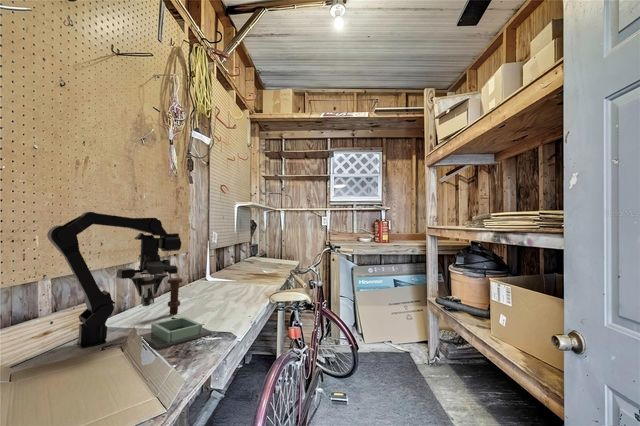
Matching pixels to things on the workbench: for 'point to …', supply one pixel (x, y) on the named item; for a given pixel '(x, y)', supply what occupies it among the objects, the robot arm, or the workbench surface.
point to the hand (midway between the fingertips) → (147, 295)
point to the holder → (189, 329)
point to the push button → (147, 290)
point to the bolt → (174, 295)
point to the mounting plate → (160, 343)
